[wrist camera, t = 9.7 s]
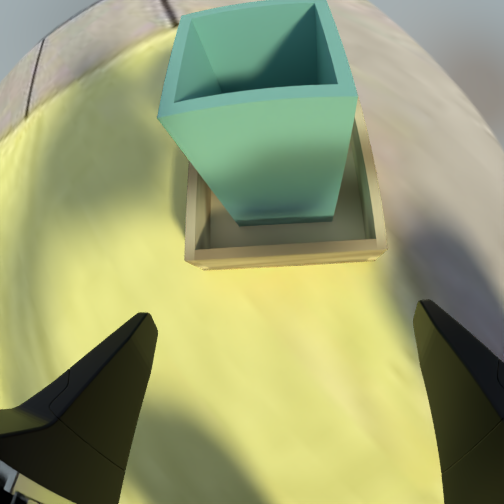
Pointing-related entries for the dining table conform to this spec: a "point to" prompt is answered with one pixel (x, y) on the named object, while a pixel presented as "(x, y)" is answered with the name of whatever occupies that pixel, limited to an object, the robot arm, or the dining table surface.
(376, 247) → the pine crate
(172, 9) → the dining table surface
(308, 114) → the teal crate
